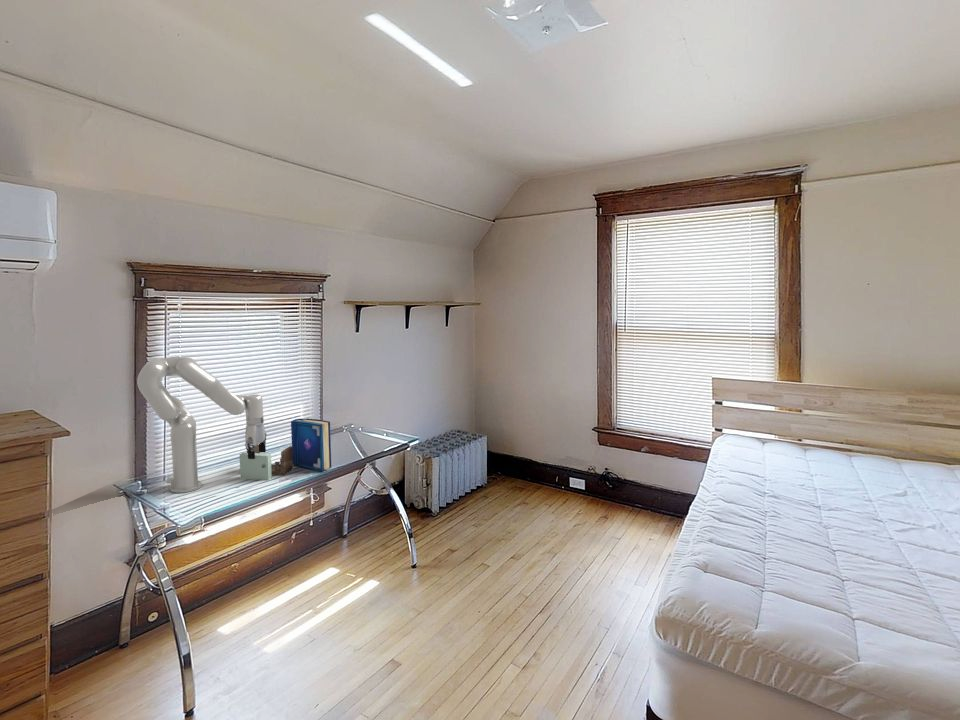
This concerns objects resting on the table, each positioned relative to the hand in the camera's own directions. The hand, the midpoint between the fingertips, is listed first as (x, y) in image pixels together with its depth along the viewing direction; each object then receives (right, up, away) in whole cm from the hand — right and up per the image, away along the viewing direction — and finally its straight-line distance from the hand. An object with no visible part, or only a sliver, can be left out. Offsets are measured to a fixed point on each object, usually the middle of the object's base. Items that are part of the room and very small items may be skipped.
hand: (257, 455), depth 232 cm
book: (+19, -10, +18) cm, 29 cm away
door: (-1, -11, +1) cm, 11 cm away
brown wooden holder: (+2, -10, +11) cm, 15 cm away
